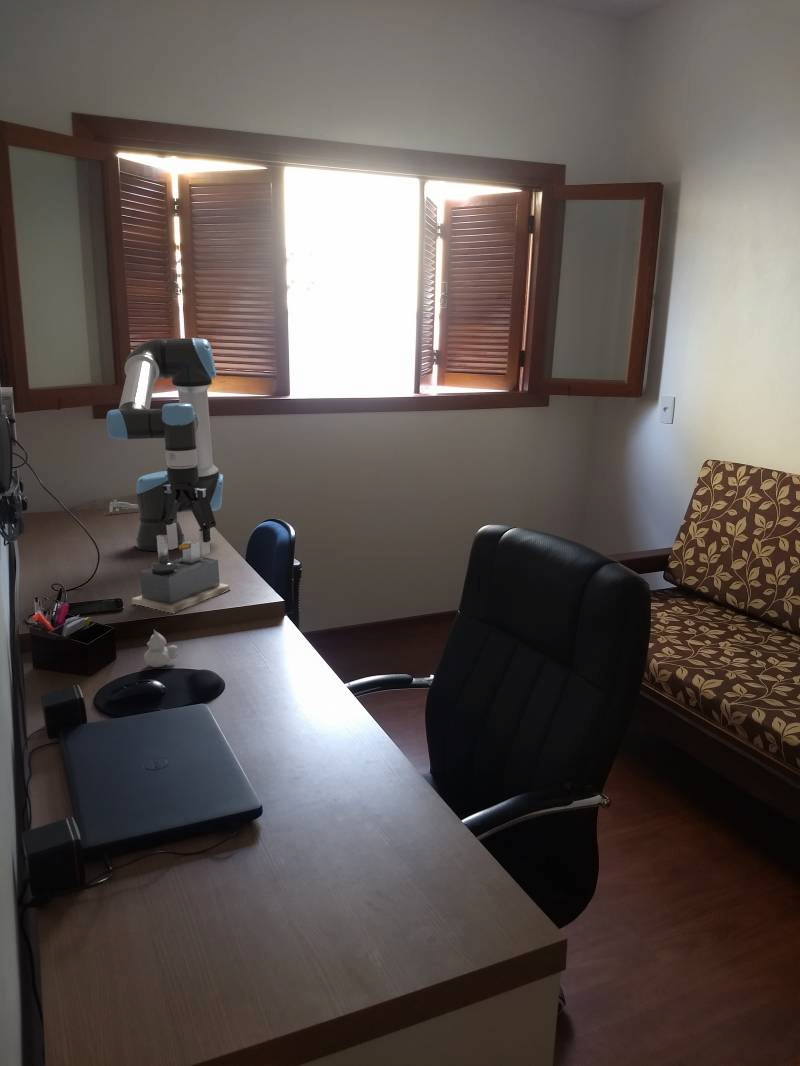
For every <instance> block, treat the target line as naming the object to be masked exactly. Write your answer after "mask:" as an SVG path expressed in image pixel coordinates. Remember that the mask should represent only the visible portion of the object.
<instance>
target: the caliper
mask: <svg viewBox="0 0 800 1066" xmlns="http://www.w3.org/2000/svg"><path fill="white" fill-rule="evenodd" d="M114 508H115V511H118V512H119V511H120V509H121V510H126V511H129V510H130V509H134V510H135V509H136V510H137V509H138V504H132V503H130V502H125V501H124V502H123V501H117V499H113V498H112V500H111V501H110V503H109V513H110V512H112V513H113V509H114ZM138 510H139V509H138ZM115 511H114V512H115Z"/></svg>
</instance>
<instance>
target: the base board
mask: <svg viewBox="0 0 800 1066" xmlns="http://www.w3.org/2000/svg"><path fill="white" fill-rule="evenodd" d="M230 589H231V587H230V584H227V583H226V584H225V583H221V582H220V586H217V587H215V588H212V589H210V590H207V591H204V592H202V593H199V594H197V595H194V596H192V597H189V598H187V599H184V600H181V601H179V602H176V603H174V604H171V605H170V604H166V603H161V602H157V601H153V600H148V599H144V598H142V594H141V595H137V596H136V597H132V598H131V603H132V605H134V604H137V605H136V606H138V605H142V606H146V607H150V608H154V609H153V610H155V609H158V610H157V611H159V610H162V611H161V612H163V611H167V612H171V613H173V612H176V611H178V612H180V611H179V610H181V609H183V608H186V607H188V606H190V607H192V606H191V605H193V604H195V605H197V604H196V603H198V602H200V603H202V602H201V601H203V600H205V601H207V600H206V599H208V598H210V599H212V598H211V597H213V596H215V597H216V595H218V594H220V593H222V592H224V591H226V590H230ZM222 594H223V593H222ZM220 595H221V594H220ZM218 596H219V595H218ZM213 598H214V597H213ZM208 600H209V599H208ZM203 602H204V601H203ZM198 604H199V603H198ZM142 606H141V607H142ZM193 606H194V605H193ZM146 607H145V608H146ZM150 608H149V609H150ZM188 608H189V607H188ZM186 609H187V608H186ZM183 610H184V609H183ZM181 611H182V610H181ZM167 612H166V613H167ZM171 613H170V614H171ZM176 613H177V612H176ZM173 614H174V613H173Z"/></svg>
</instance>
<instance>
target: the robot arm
mask: <svg viewBox="0 0 800 1066" xmlns="http://www.w3.org/2000/svg"><path fill="white" fill-rule="evenodd" d="M212 350H213V349H212V346H211V344H210V342H209V341H208V340H207V339H206V338H196V337H181V338H179V337H177V338H176V337H175V338H151V339H150V340H147V341H145V342H143V343H141V344H139V345H138V346H137V347H135V349H133V350H132V351H131V352H130V354H129V355H128V356H127V357H126V361H125V364H124V374H125V376H126V377H125V382H124V385H123V390H122V393H121V394H122V395H121V398H120V401H119V402H120V403H119V406H118V408H115V409H110V410H108V411H107V414H106V428H107V429H106V430H107V433H108V436H109V437H110V439H113V440H124V441H126V440H143V439H164V450H165V460H166V461H165V462H166V466H168V467H167V469H166V470H163V471H156V472H153V473H149V474H145V475H142V476H140V477H138V479H137V480H136V484H135V485H136V491H135V493H136V495H137V497H136V498H137V499H136V500H137V505H138V517H139V519H138V520H139V523H138V524H139V525H138V530H137V534H136V535H137V536H136V538H135V547H137V548H136V549H138V550H141V551H144V552H145V551H148V552H158V546H157V535H161V534H165V535H167V544H168V551H169V550H175V549H179V545H181V544H182V543H183V542H186V537H185V534H184V532H183V530H182V527H181V524H180V523H179V520H178V513H192V514H193V516H194V518H195V521H196V522H197V524H198V526H199V529H198V540H199V546H200V557H203V556H205V555H208V554H211V548H210V542H211V539H212V538H211V529H212V528H216V526H217V522H216V519H215V516H214V514H213V511H219V510H220V509H221V507H222V504H223V503H222V501H223V490H224V489H223V488H224V487H223V486H224V475H223V474H222V473H220V472H219V468H218V467H217V466H216V465H215V464H214V462H213V461H214V459H213V448H212V447H213V446H212V438H211V437H212V434H211V424H210V423H211V421H210V410H209V409H210V407H209V398H208V397H209V395H208V394H209V393H208V389H209V387H210V386H211V385H212V383H213V382H212V381H213V380H212V379H216V377H217V372H216V364H215V360H214V354H213V351H212ZM158 379H159V380H160V379H162V380H163V379H167V380H168V379H171V382H172V387H174V388H176V390H177V391H178V392H177V393H178V402H175V403H165V404H163V406H162V407H161V408H151V404H152V403H151V402H152V397H153V392H154V385H155V383H156V381H157V380H158Z"/></svg>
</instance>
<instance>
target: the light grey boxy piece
mask: <svg viewBox="0 0 800 1066" xmlns="http://www.w3.org/2000/svg"><path fill="white" fill-rule="evenodd" d="M178 549H179V551H182V557H183V564H184V565H189V566H190V565H193V564H196V563H199V562H200V557H201V555H200V546H199V539H198V540H187V541H185V542H183V543H182V544H181V545H179V547H178Z"/></svg>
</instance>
